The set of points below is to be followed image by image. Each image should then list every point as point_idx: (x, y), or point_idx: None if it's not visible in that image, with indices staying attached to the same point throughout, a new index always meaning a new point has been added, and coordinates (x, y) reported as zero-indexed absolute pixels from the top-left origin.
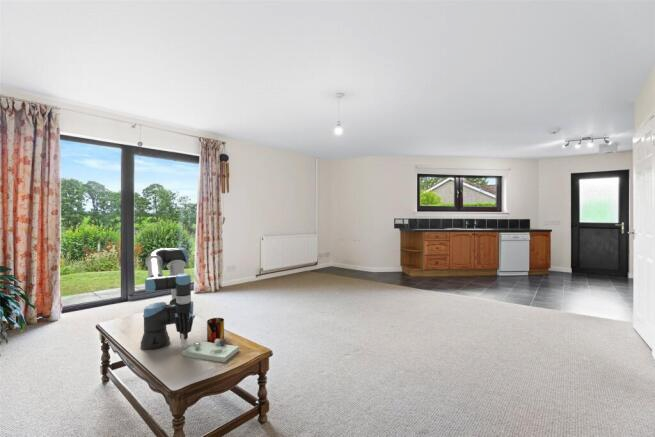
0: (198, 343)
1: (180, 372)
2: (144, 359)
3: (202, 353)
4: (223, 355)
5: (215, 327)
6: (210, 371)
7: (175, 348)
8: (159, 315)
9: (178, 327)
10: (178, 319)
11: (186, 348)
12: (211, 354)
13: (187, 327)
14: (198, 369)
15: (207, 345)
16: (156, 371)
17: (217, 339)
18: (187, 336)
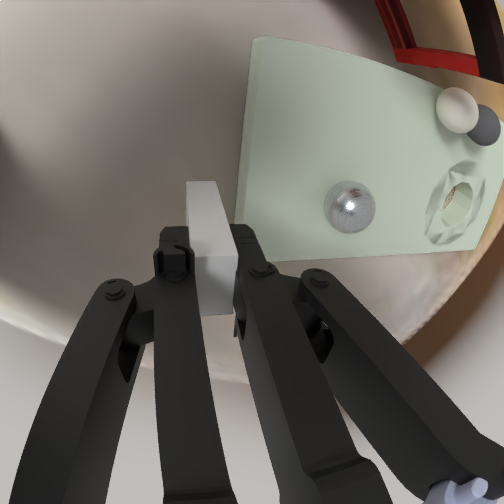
0: (370, 221)
1: None
2: (61, 330)
3: (391, 248)
4: (473, 235)
5: (497, 16)
6: (422, 304)
7: (84, 158)
8: None
9: (129, 380)
10: (78, 501)
11: (243, 216)
12: (433, 243)
13: (334, 385)
14: (382, 311)
15: (388, 126)
16: (220, 374)
17: (474, 123)
18: (256, 242)
